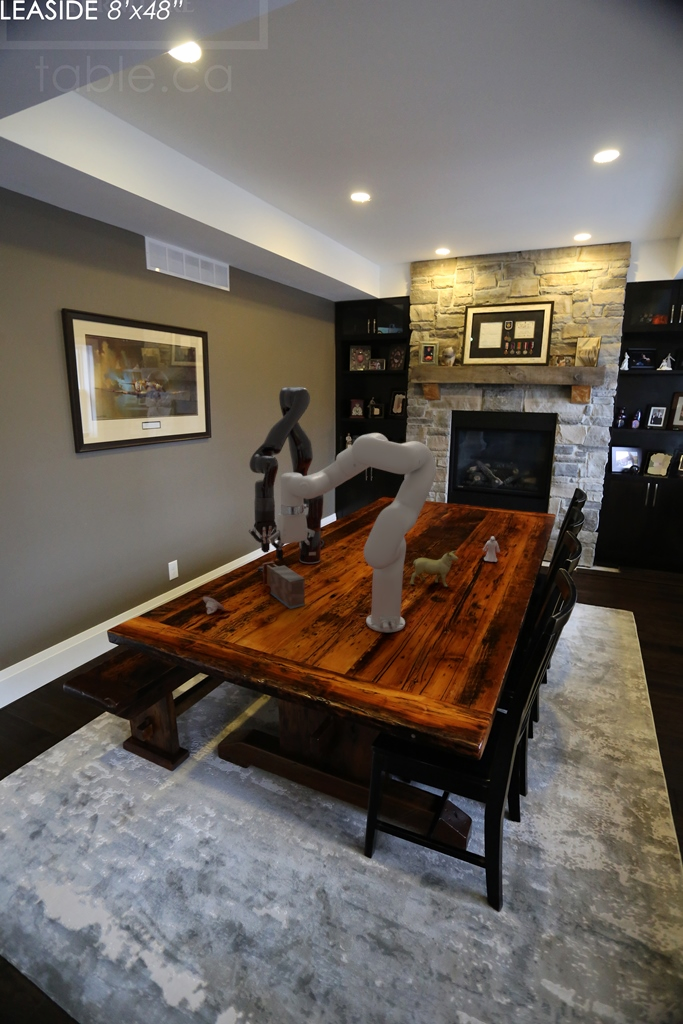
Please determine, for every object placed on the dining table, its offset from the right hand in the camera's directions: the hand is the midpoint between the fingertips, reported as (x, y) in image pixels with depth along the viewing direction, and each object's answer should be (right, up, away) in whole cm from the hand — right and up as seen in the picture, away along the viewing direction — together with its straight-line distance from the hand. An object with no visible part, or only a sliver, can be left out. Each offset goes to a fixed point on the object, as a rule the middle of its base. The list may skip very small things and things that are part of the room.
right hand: (292, 557), depth 173 cm
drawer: (-9, -12, +16) cm, 22 cm away
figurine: (+84, -6, +52) cm, 99 cm away
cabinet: (-3, -16, +7) cm, 18 cm away
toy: (+53, -13, +23) cm, 59 cm away
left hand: (-12, 0, +19) cm, 22 cm away
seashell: (-26, -18, -4) cm, 32 cm away
